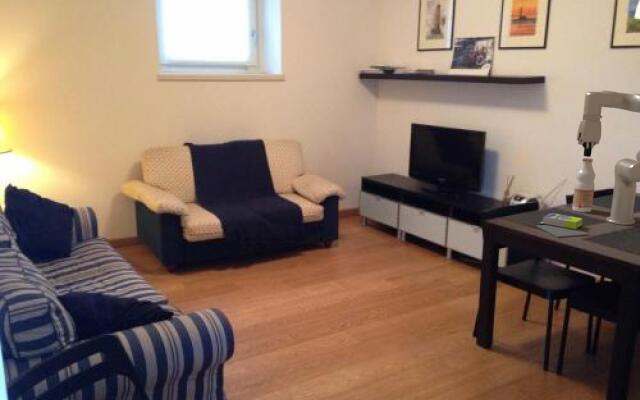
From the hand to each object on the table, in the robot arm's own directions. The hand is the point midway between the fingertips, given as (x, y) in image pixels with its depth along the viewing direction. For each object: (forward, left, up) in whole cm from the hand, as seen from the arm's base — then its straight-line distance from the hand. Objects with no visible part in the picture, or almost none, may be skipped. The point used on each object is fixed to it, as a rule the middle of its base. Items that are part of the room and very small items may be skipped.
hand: (587, 156), depth 265 cm
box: (+8, +10, -31) cm, 33 cm away
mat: (+18, +11, -33) cm, 39 cm away
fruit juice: (-15, -19, -33) cm, 41 cm away
